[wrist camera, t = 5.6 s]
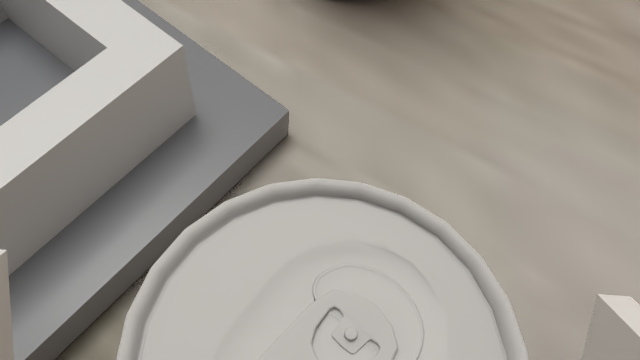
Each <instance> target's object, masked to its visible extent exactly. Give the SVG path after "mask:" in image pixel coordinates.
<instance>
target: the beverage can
mask: <svg viewBox="0 0 640 360" xmlns="http://www.w3.org/2000/svg"><path fill="white" fill-rule="evenodd" d="M116 360H528V351H527V348H526V345H525V342H524V339H523V336H522V333H521V331H520V328H519V325H518V322H517V319H516V316H515V313H514V310H513V307H512V304H511V301H510V300H509V298H508V296H507V295H506V293H505V292H504V290H503V289H502V287H501V285H500V284H499V282H498V281H497V279H496V278H495V276H494V274H493V273H492V271H491V270H490V268H489V267H488V265H487V263H486V262H485V260H484V259H483V257H482V256H481V255H480V254H479V253H478V252H477V251H476V250H475V249H474V248H473V247H472V246H471V245H470V244H469V243H468V242H467V241H466V240H465V239H464V238H463V237H462V236H461V235H460V234H459V233H458V232H457V231H456V230H455V229H453V228H452V227H451V226H450V225H449V224H448V223H447V222H446V221H444V220H443V219H441V218H439V217H438V216H436V215H434V214H433V213H431V212H430V211H428V210H426V209H425V208H423V207H421V206H420V205H418V204H417V203H415V202H413V201H412V200H410V199H408V198H407V197H404V196H401V195H398V194H395V193H392V192H389V191H386V190H383V189H380V188H378V187H375V186H372V185H369V184H366V183H363V182H354V181H344V180H334V179H323V178H311V179H303V180H295V181H288V182H280V183H273V184H268V185H266V186H263V187H260V188H258V189H255V190H253V191H250V192H247V193H245V194H242V195H240V196H237V197H235V198H232V199H229V200H227V201H225V202H223V203H222V204H220V205H219V206H217V207H216V208H214V209H213V210H212V211H210V212H209V213H207V214H206V215H204V216H203V217H201V218H200V219H199V220H197V221H196V222H194V223H193V224H191V225H190V226H188V227H187V228H185V229H184V230H183V232H182V233H181V234H180V235H179V236H178V237H177V238H176V240H175V241H174V242H173V243H172V244H171V245H170V246H169V247H168V249H167V250H166V251H165V252H164V253H163V254H162V255H161V257H160V258H159V259H158V260H157V261H156V262H155V263H154V264H153V266H152V267H151V268H150V270H149V272H148V274H147V276H146V278H145V280H144V282H143V284H142V286H141V288H140V289H139V291H138V293H137V295H136V297H135V299H134V301H133V303H132V305H131V307H130V309H129V311H128V312H127V314H126V318H125V323H124V327H123V331H122V336H121V340H120V344H119V349H118V353H117V357H116Z"/></svg>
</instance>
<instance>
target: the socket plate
mask: <svg viewBox="0 0 640 360" xmlns="http://www.w3.org/2000/svg"><path fill="white" fill-rule="evenodd" d="M288 124H289V110H288V109H286V108H285V107H284V106H282V105H281V104H279V103H278V102H277V101H275V100H274V99H273V98H271V97H270V96H268V95H267V94H266V93H264V92H263V91H262V90H260V89H259V88H257V87H256V86H255V85H253V84H252V83H250V82H249V81H248V80H246V79H245V78H244V77H242V76H241V75H239V74H238V73H237V72H235V71H234V70H233V69H231V68H230V67H228V66H227V65H226V64H224V63H223V62H222V61H220V60H219V59H217V58H216V57H215V56H213V55H212V54H211V53H209V52H208V51H206V50H205V49H204V48H202V47H201V46H200V45H198V44H197V43H195V42H194V41H193V40H191V39H190V38H189V37H187V36H186V35H184V34H183V33H182V32H180V31H179V30H178V29H176V28H175V27H173V26H172V25H171V24H169V23H168V22H166V21H165V20H164V19H162V18H161V17H160V16H158V15H157V14H155V13H154V12H153V11H151V10H150V9H149V8H147V7H146V6H144V5H143V4H142V3H140V2H139V1H138V0H0V249H2V250H7V258H8V274H9V290H10V306H11V321H12V337H13V353H14V360H55V359H56V358H57V357H58V356H59V355H60V354H61V353H62V352H63V351H64V350H65V349H66V348H67V347H68V346H69V345H70V344H71V343H72V342H73V341H74V340H75V339H76V338H77V337H78V336H79V335H80V334H81V333H83V332H84V331H85V330H86V329H87V328H88V327H89V326H90V325H91V324H92V323H93V322H94V321H95V320H96V319H97V318H98V317H99V316H100V315H101V314H102V313H103V312H104V311H105V310H106V309H107V308H108V307H109V306H110V305H112V304H113V303H114V302H115V301H116V300H117V299H118V298H119V297H120V296H121V295H122V294H123V293H124V292H125V291H126V290H127V289H128V288H129V287H130V286H131V285H132V284H133V283H134V282H135V281H136V280H137V279H138V278H139V277H141V276H142V275H143V274H144V273H145V272H146V271H147V270H148V269H149V268H150V267H151V266H152V265H153V264H154V263H155V262H156V261H157V260H158V259H159V258H160V257H161V255H162V254H163V253H164V252H165V251H166V250H167V249H168V247H169V246H170V245H171V244H172V243H173V242H174V241H175V240H176V238H177V237H178V236H179V235H180V234H181V233H182V232H183V230H184V229H185V228H187V227H188V226H190V225H191V224H193V223H194V222H196V221H197V220H199V219H200V218H201V217H203V216H204V215H205V214H206V213H207V212H208V211H209V210H210V209H211V208H212V207H213V206H214V205H215V204H216V203H217V202H218V201H219V200H220V199H221V198H222V197H223V196H224V195H225V194H226V193H228V192H229V191H230V190H231V189H232V188H233V187H234V186H235V185H236V184H237V183H238V182H239V181H240V180H241V179H242V178H243V177H244V176H245V175H246V174H247V173H248V172H249V171H250V170H251V169H252V168H253V167H254V166H255V165H257V164H258V163H259V162H260V161H261V160H262V159H263V158H264V157H265V156H266V155H267V154H268V153H269V152H270V151H271V150H272V149H273V148H274V147H275V146H276V145H277V144H278V143H279V142H280V141H281V140H282V139H283V138H284V137H285V136H287V135H288Z"/></svg>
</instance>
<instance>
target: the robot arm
mask: <svg viewBox="0 0 640 360" xmlns="http://www.w3.org/2000/svg"><path fill="white" fill-rule="evenodd" d="M0 360H14V353H13V337H12V321H11V306H10V290H9V274H8V258H7V250H2V249H0ZM581 360H640V305H639V304H638V303H637V302H636V301H635V300H634V299H632V298H631V297H629V296H616V295H603V294H597V297H596V302H595V306H594V310H593V314H592V318H591V322H590V326H589V330H588V334H587V338H586V343H585V347H584V351H583V355H582V359H581Z"/></svg>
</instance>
